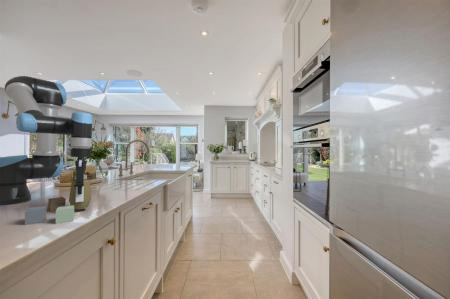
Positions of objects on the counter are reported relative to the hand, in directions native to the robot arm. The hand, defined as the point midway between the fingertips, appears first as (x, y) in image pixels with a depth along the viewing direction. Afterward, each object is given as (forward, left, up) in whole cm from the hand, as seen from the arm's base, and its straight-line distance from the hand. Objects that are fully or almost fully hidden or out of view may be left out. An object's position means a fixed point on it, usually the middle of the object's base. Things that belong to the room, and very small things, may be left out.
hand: (80, 199), depth 91 cm
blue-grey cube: (+9, -13, -5) cm, 17 cm away
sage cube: (+13, -4, -5) cm, 15 cm away
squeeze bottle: (0, 0, -4) cm, 4 cm away
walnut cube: (-7, -9, -5) cm, 12 cm away
